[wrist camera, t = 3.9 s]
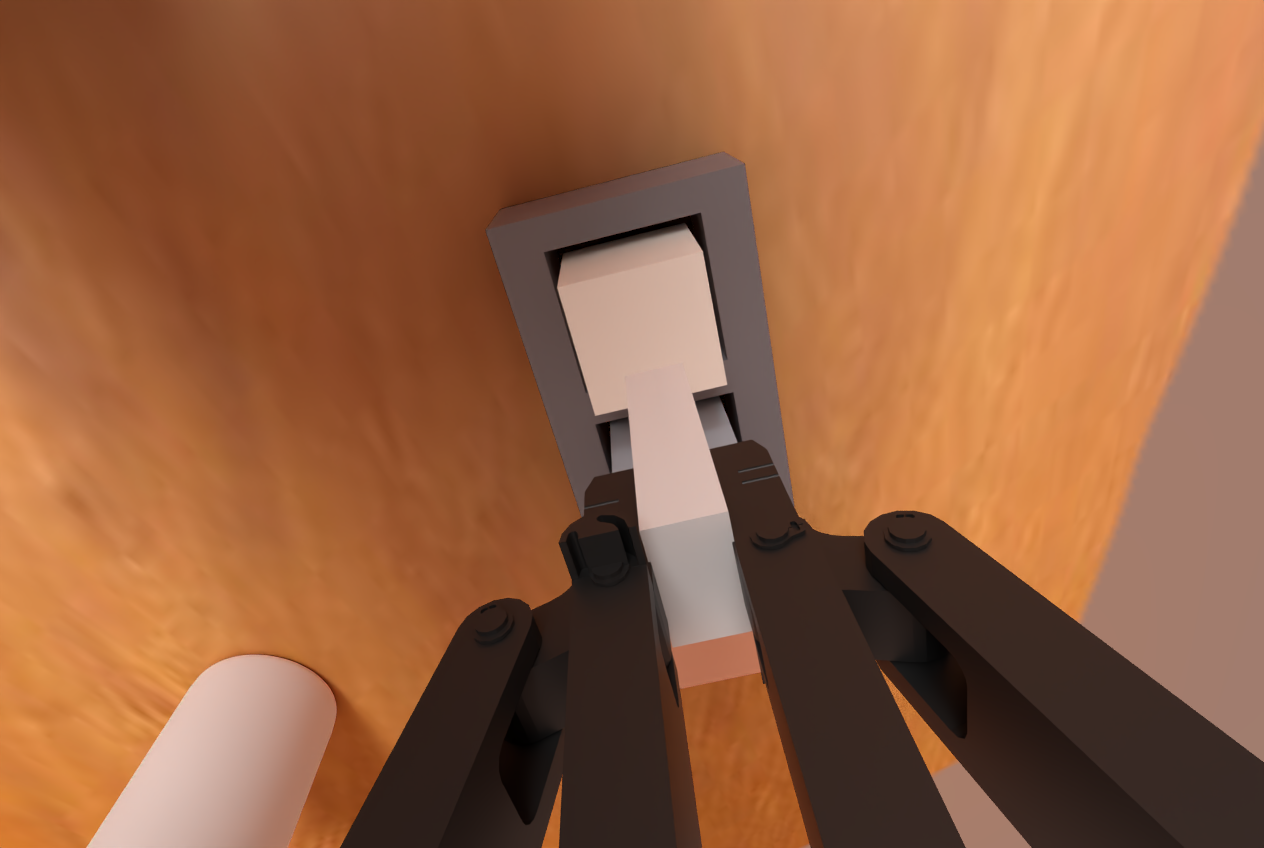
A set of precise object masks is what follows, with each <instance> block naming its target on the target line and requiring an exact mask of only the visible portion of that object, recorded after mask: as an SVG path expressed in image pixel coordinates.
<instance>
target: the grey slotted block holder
mask: <svg viewBox="0 0 1264 848" xmlns="http://www.w3.org/2000/svg"><path fill="white" fill-rule="evenodd" d="M689 215H691V220H692V226H693V231H694V236H695V240H696V241H697V243H698V245H699V246H700V248H701V249H702V251H703V255H704V261H705V266H706V272H707V277H708V283H709V288H710V293H711V299H712V304H713V310H714V315H715V321H716V326H717V331H718V337H719V342H720V348H721V353H722V359H723V364H724V369H725V375H726V380H727V385H724V386H720V387H716V388H712V389H707V390H703V391H699V392H695V393H692V395H693V398H694V401H697V400H702V399H706V398H710V397H715V396H719V395H723V394H724V396H725V401H726V407H727V412H728V417H729V422H730V425H731V427H732V430H733V432H734V435H735V437H736V440H737V443H738V442H743V441H747V440H754V441H755V442H757V443H758V444H760V445H761V446H763V447H765V448H766V449H767V450H768V452H769V455H770V457H771V459H772V461H773V464H774V465H775V467H776V470H777V472H778V474H779V476H780V478H781V480H782V482H783V484H784V487H785V489H786V491H787V493H788V495H789V497H790V499H791V502H792V504H793V506H794V501H793V494H792V487H791V480H790V473H789V466H788V460H787V453H786V446H785V439H784V432H783V425H782V418H781V411H780V404H779V397H778V390H777V383H776V377H775V370H774V363H773V356H772V349H771V342H770V335H769V328H768V321H767V314H766V307H765V300H764V293H763V287H762V280H761V273H760V266H759V259H758V252H757V245H756V238H755V231H754V224H753V217H752V210H751V204H750V197H749V190H748V183H747V176H746V169H745V163H743V162H741V161H739V160H738V159H736V158H734V157H732V156H731V155H729V154H727V153H725V152H720V153H716V154H713V155H709V156H705V157H701V158H697V159H693V160H689V161H685V162H682V163H678V164H674V165H670V166H666V167H662V168H658V169H654V170H651V171H647V172H643V173H639V174H635V175H631V176H627V177H623V178H620V179H616V180H612V181H608V182H604V183H600V184H596V185H592V186H589V187H585V188H581V189H577V190H573V191H569V192H565V193H561V194H558V195H554V196H550V197H546V198H542V199H538V200H534V201H530V202H526V203H523V204H519V205H515V206H511V207H507V208H503V209H500V210H499V212H498V213H497V214H496V216H495V217H494V219H493V220H492V221H491V223H490V224H489V226H488V227H487V228H486V230H485V231H486V234H487V237H488V240H489V243H490V246H491V249H492V252H493V255H494V258H495V260H496V263H497V266H498V269H499V272H500V275H501V278H502V281H503V284H504V287H505V290H506V293H507V296H508V299H509V302H510V305H511V308H512V311H513V314H514V317H515V320H516V323H517V326H518V329H519V332H520V335H521V338H522V341H523V344H524V347H525V350H526V353H527V356H528V359H529V362H530V365H531V368H532V371H533V374H534V377H535V380H536V383H537V386H538V389H539V392H540V394H541V397H542V400H543V403H544V406H545V409H546V412H547V415H548V418H549V421H550V424H551V427H552V430H553V433H554V436H555V439H556V442H557V445H558V448H559V451H560V454H561V457H562V460H563V463H564V466H565V469H566V472H567V475H568V478H569V481H570V484H571V487H572V490H573V493H574V496H575V499H576V502H577V505H578V508H579V511H580V514H581V517H583V516H584V510H585V508H584V496H585V491H586V489H587V488H588V486H589V484H590V483H591V481H592V480H593V478H594V477H596V476H601V475H605V474H610V473H612V456H611V437H610V433H609V430H608V427H607V423H606V422H608V421H612V420H616V419H621V418H625V417H629V414H628V408H627V409H622V410H618V411H614V412H609V413H605V414H601V415H597V416H595V414H594V410H593V407H592V403H591V400H590V397H589V393H588V390H587V387H586V383H585V380H584V376H583V373H582V370H581V366H580V363H579V360H578V356H577V353H576V350H575V346H574V343H573V339H572V336H571V333H570V329H569V326H568V323H567V319H566V316H565V312H564V309H563V306H562V302H561V299H560V296H559V292H558V289H557V286H558V280H559V274H560V268H561V264H560V261H559V257H558V254H557V250H556V249H559V248H563V247H567V246H571V245H574V244H578V243H582V242H586V241H590V240H594V239H598V238H602V237H606V236H610V235H614V234H618V233H622V232H626V231H630V230H634V229H638V228H642V227H646V226H650V225H654V224H658V223H662V222H666V221H670V220H673V219H677V218H681V217H685V216H689Z"/></svg>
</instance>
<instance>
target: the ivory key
mask: <svg viewBox="0 0 1264 848" xmlns="http://www.w3.org/2000/svg"><path fill="white" fill-rule="evenodd" d="M557 289H558V292H559V296H560V299H561V302H562V306H563V309H564V312H565V316H566V319H567V323H568V326H569V329H570V333H571V336H572V339H573V343H574V346H575V350H576V353H577V356H578V360H579V363H580V366H581V370H582V373H583V376H584V380H585V383H586V387H587V390H588V393H589V397H590V400H591V403H592V407H593V410H594V414H595V416H597V415H601V414H605V413H609V412H614V411H618V410H622V409H627V408H628V403H627V393H626V382H625V376H627V375H632V374H636V373H640V372H644V371H648V370H653V369H657V368H661V367H665V366H669V365H674V364H678V363H682V362H683V366H684V369H685V372H686V375H687V379H688V382H689V385H690V388H691V392H692V393H695V392H699V391H703V390H707V389H712V388H716V387H720V386H724V385H727V380H726V375H725V369H724V364H723V359H722V353H721V348H720V342H719V337H718V331H717V326H716V321H715V315H714V310H713V304H712V299H711V293H710V288H709V283H708V277H707V272H706V266H705V261H704V255H703V251H702V249H701V248H700V246H699V245H698V243H697V241H696V240H695V238H694V237H693V235H692V233H691V232H690V230H689V229H688V227H687V226H686V224H685V223H682V224H678V225H674V226H670V227H666V228H662V229H658V230H654V231H650V232H646V233H642V234H638V235H634V236H630V237H626V238H622V239H618V240H614V241H610V242H606V243H602V244H598V245H594V246H590V247H586V248H582V249H578V250H574V251H570V252H566V253H563V257H562V263H561V268H560V274H559V280H558V286H557Z"/></svg>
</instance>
